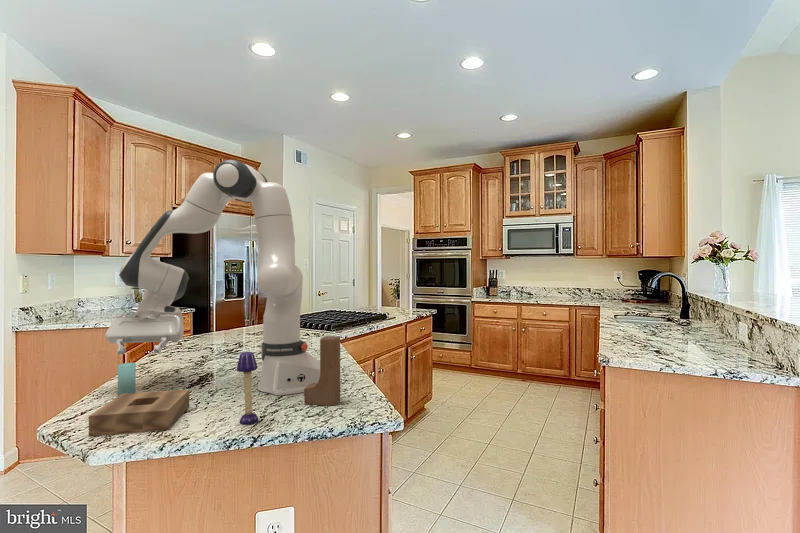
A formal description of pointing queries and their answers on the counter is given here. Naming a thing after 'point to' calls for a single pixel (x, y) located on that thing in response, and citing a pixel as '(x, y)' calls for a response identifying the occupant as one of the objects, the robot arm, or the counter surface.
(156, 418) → the bore block
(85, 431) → the counter surface
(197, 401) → the counter surface
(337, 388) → the wooden block
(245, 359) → the toy lamp
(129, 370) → the pin
